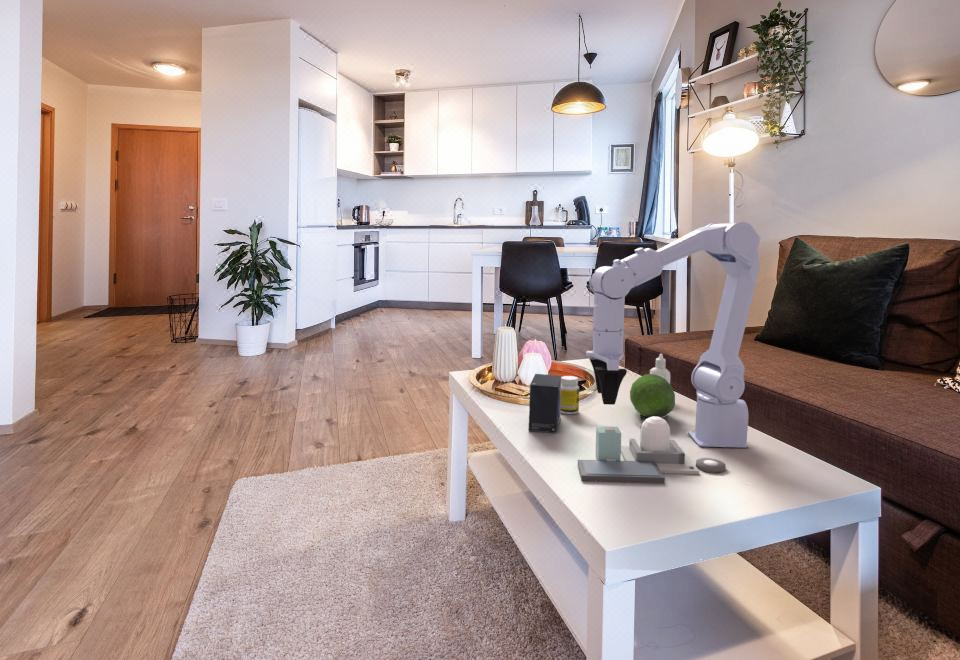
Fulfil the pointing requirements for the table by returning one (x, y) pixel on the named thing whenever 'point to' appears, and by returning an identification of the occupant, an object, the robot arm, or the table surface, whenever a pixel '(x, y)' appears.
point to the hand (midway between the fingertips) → (605, 398)
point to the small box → (545, 403)
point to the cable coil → (710, 465)
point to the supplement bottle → (569, 395)
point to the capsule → (655, 435)
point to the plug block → (608, 443)
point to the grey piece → (661, 458)
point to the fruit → (652, 396)
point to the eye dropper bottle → (661, 368)
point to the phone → (620, 471)
